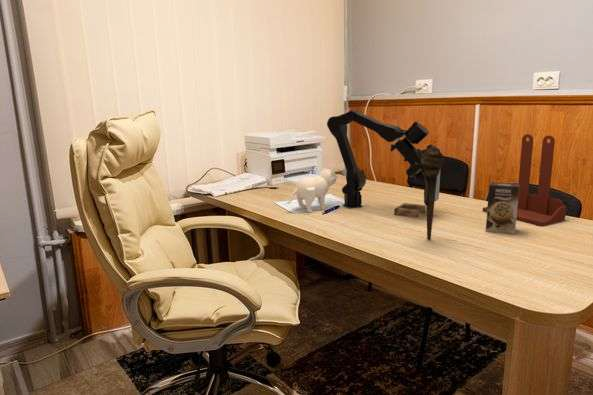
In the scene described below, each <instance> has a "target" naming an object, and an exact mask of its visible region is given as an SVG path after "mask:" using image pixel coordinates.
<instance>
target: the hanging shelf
mask: <svg viewBox="0 0 593 395" xmlns="http://www.w3.org/2000/svg"><path fill="white" fill-rule="evenodd" d="M527 138H528V140H527ZM548 140H549V142H548ZM555 142H556V141H555V137H554V136H552V135H549V134H548V135H545V136H544V137H543V139H542V143H541V144H542V145H541V152H540V153H541V155H540V164H539V165H540V166H539V175H538V185H537V194H532V193H529V191H530V180H531V172H532V171H531V168H532V158H533V148H534V147H533V145H534V137H533V135H532V134H530V133H527V134H524V135H523V136H522V138H521V148H520V160H519V172H518V173H519V174H518V183H517V184H520V186H519V197H518V207H517V218H516V222H517V221H518V222H521V223H525V224H530V225H534V226H537V227H546V226H549V225H553V224H556V223H561V222H564V221H566V215H567V214H566V212H567V206H566V205H564V203H563V201H562V199H559V198H554V197H550V193H551V192H550V191H551V182H552V171H553V163H554V152H555ZM487 207H488V206H486V207H482V212H483V213H486V214H487Z"/></svg>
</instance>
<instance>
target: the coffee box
mask: <svg viewBox="0 0 593 395" xmlns="http://www.w3.org/2000/svg"><path fill="white" fill-rule="evenodd" d="M519 186H520V184H518V183H514V182H498V181H490V183H489V185H488V194H487V195H488V197H487V198H488V199H487V206H486V207H487V213H486V220H485V221H486V222H485V223H486V224H485V231H484V232H489V233H491V232H492V233H498V234H499V233H500V234H509V235H515V234H516V228H517V227H516V226H517V220H516V218H517V207H518V197H519Z"/></svg>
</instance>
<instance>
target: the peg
mask: <svg viewBox="0 0 593 395" xmlns="http://www.w3.org/2000/svg"><path fill="white" fill-rule="evenodd" d="M440 181H441V171H440V172H439V174H438V176H437V183H436V192H435V202H436V201H439V200H440V186H441V184H440V183H441V182H440Z"/></svg>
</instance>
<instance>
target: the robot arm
mask: <svg viewBox="0 0 593 395" xmlns="http://www.w3.org/2000/svg"><path fill="white" fill-rule="evenodd" d="M353 122H354V123H356V124H359V125H360V126H362V127H364V128H367V129H369V130H371V131H373V132H375V133H376V134H377V135H378V136H379V137H380V138H381V139H384V141H386V142H389V143H391V144H390V152H391V153H392V152H395V151H397V152H398V153H399V154H400V155H401V156H402V158H404V159H403V161H404V162H407V163H408V165H409V166H410V167H408V169H406V175H407V176H408V177H409V178H412V177H413V178H417V179H419V180H421V181H424V182H425V179H424V176H423V173H422V170H421V158H422V155H423V154H424V152H425V151H426V150H427V149H428V148H431V147H436V145H433V144H428V145H426V148H425V149H422V150H421V149H420V148H416V147H415V145H419V144H420V143H421V142H422V141H423V140H424V139H425V138H426V137H427V136H429V134H430V131H429V130H428V129H427V128H426V127H425V126H424V125H423V124H421V123H419V122H418V121H414V122H413V123H412V124H411V126H410V127H409V128H407V129H402V128H401V127H400V126H398V125H393V124H390V123H385V122H381V121H379V120H378V119H374V118H372V117H371V116H368V115H366V114H364V113H362V112H360V111H359V110H356V109H353V110H349V111H348V112H345V113H343V114H339V115H337V116H336V115H335V116H330V117H329V118H328V119H327V122H326V125H327V128H328V130H329V132H330V134H331V135H332V136H333V137H334V138H335V140H336V142H337V143H336V144H337V146H338V149H339V151H340V155H341V158H342V160H343V163H344V167H345V169H346V171H345V172H346V175H345V181H346V184H345V185H343V187H342V188H341V191H342V194H344V195H343V197H344V200H343V201H344V203H342V206H344V207H346V208H348V209H353V208H362V207H363V205H362V201H363V200H362V193H361V191H362V190H363V187H365V185H366V184H367V176H366V174H365V170H364V169H360V168H359V167H358V165H357V162H356V159H355V156H354V153H353V150H352V148H351V144H350V141H349V140H350V139H349V137H348V125H349V124H351V123H353ZM401 138H403V139H401ZM395 141H396V142H395ZM393 142H395V143H393ZM414 144H415V145H414ZM436 148H438V147H436ZM414 174H415V175H414ZM425 176H426V175H425Z"/></svg>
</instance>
